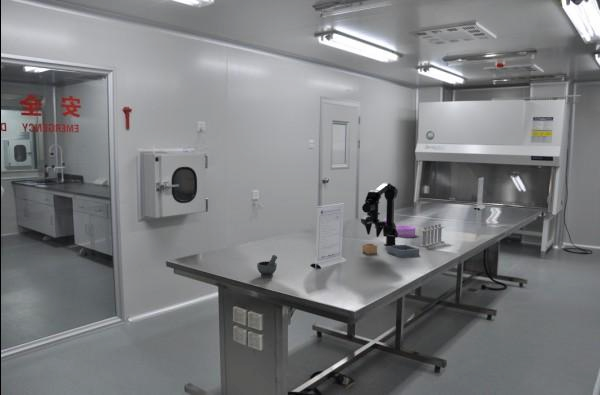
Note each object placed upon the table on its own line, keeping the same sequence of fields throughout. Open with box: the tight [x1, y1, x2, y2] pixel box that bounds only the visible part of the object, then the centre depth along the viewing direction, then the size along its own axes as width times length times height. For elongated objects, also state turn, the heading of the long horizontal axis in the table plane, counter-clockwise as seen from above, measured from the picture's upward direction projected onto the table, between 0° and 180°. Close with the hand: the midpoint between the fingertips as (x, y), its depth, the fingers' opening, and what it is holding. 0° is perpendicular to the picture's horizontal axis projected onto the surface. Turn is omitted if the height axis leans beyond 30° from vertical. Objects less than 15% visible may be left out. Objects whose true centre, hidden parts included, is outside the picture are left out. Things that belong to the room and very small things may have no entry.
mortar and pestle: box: [256, 254, 278, 279], centre depth 235 cm, size 11×9×12 cm
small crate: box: [362, 243, 378, 255], centre depth 291 cm, size 6×6×5 cm
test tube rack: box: [418, 223, 446, 248], centre depth 318 cm, size 25×4×13 cm, turn 132°
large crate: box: [386, 244, 420, 258], centre depth 289 cm, size 14×14×4 cm
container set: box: [383, 217, 416, 238], centre depth 352 cm, size 25×15×13 cm, turn 58°
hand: (372, 235), depth 288 cm, fingers open, 9 cm apart
